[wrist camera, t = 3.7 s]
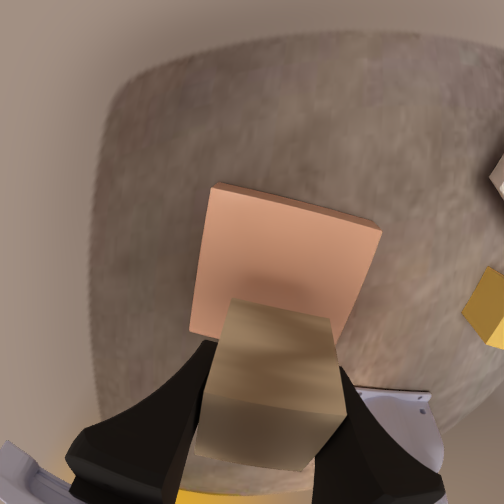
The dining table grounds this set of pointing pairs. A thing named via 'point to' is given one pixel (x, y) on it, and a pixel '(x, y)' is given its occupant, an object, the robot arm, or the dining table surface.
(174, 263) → the dining table surface
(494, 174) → the figurine
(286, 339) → the beech block
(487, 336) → the mustard block
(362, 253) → the riser
